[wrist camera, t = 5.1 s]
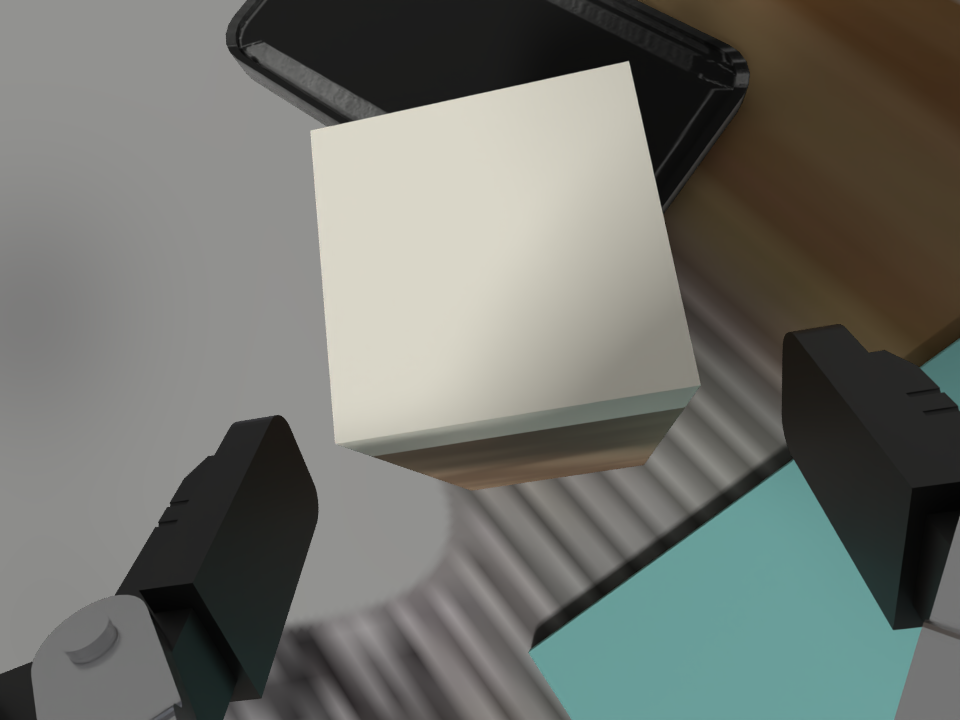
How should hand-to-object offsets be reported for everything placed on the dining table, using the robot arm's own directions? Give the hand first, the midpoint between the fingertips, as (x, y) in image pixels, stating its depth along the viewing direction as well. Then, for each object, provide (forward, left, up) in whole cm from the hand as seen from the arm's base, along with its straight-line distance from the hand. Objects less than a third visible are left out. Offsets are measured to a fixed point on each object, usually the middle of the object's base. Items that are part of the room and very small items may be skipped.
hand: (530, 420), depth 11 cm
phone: (-11, +5, -8) cm, 15 cm away
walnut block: (-2, +1, -7) cm, 7 cm away
